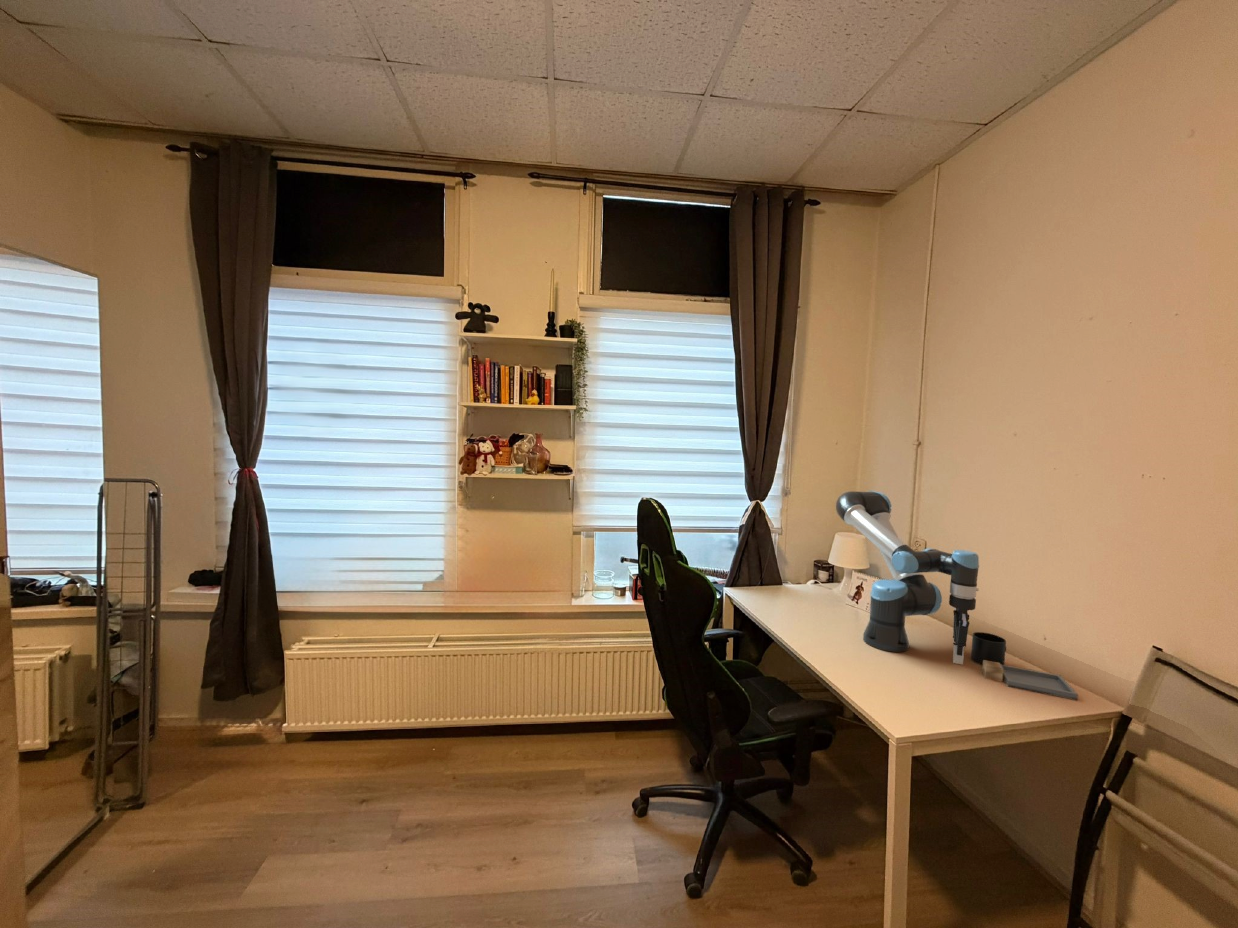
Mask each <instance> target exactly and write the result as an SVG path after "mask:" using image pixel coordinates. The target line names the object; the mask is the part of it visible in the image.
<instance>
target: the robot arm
mask: <svg viewBox="0 0 1238 928" xmlns="http://www.w3.org/2000/svg"><path fill="white" fill-rule="evenodd" d="M835 511H836V513H837V515H838V516H839V518H840V519H841V520H842V521H843V522H844V523H846V524H847V525H849V526H850V525H851V526H853V527H854V528H855V529H856V530H858V531H859V532H860V533H861V534H862V535H863V536H864V537H866V538H867V539H868V540H869V541H870V542H871V543H872V544H873V545H875V546H876V547H877V549H878V550H879V552H880V554H881V556H882V558H883V560H884V562H885V564H886V566H887V568H888V570H889V572H890V574H891V575H892V578H893V579H887V578H885V579H879V580H876V581H874V582H873V584H872V585H871V591H870V607H869V621H868V622H867V625H866V627H865V629H864V632H863V636H862V639H863V640H862V641H863V642H864V643H865V642H866V643H865V644H867V645H869V646H870V647H873V648H875V649H879V650H882V651H886V652H894V653H903V652H907V651H908V650H909V649H910V647H909V646H910V642H909V639H908V634H907V630H906V627H905V625H906V624H905V623H906V617H908V616H909V617H910V616H911V617H912V616H928V615H933V614H935V613H936V612H939V610H940V608H941V606H942V601H943V596H942V592H941V590H940V588H939V587H938V586H937V585H935V584H933V583H932V582H930V581H929V582H928V580H927V579H926V577H925V575H924V574H923V573H941V574H945V575H948V576H950V582H949V584H950V585H949V593H950V594H949V599H948V605H949V606H951V607H952V608H955V609H954V610H953V612H952V613H953V625H952V627H953V629H952V630H953V634H952V635H953V636H952V638H953V642H952V645H953V651H952V663H953V664H957V665H962V666H963V665H964V656H965V655H964V654H965V647H967V639H968V633H969V631H968V630H969V626H970V621H969V620H970V614H969V613H968V611H974V610H975V609H976V601H977V599H976V597H977V592H978V591H979V588H978V574H979V568H980V564H979V563H980V560H979V558H980V557H979V554H978V553H976V552H973V551H969V550H965V549H963V550H962V549H956V550H953V552H952V553H950V552H945V551H943V550H939V549H938V548H937V549H936V548H934V549H933V548H928V547H927V548H925V549H923V550H920V551H918V550H914V549H913V548H911V547H910V546H909V545H908V544H907V543H905V542H904V541H903V540H902V539H900V537H899V536H898V534H897V532H896V530H895V529H894V527H893V525H892V523H891V521H890V520H891V517H892V515H891V513H892V503H891V501H890V499H889V497H888V496H887V495H886V494H884V493H882V492H880V491H872V490H870V491H851V490H850V491H845V492H843V493H842V494H841V495H840V496H839V497H838V498H837V499H836V503H835Z"/></svg>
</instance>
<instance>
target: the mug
mask: <svg viewBox="0 0 1238 928" xmlns="http://www.w3.org/2000/svg"><path fill="white" fill-rule="evenodd" d="M971 640H972V641H971V649H970V650H971V654H970V659H971V660H972V661H973V662H974V663H976V664H978V665H981V666H983V660H987V661H992V662H998V663H1000V664H1002V665H1005V660H1006V659H1005V658H1006V657H1005V656H1006V652H1007V641H1006V639H1005V638H1003V637H1001V636H999V635H996V634H993V633H988V632H981V631H978V632H977V631H976V632H973V633H972V639H971Z"/></svg>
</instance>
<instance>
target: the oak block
mask: <svg viewBox="0 0 1238 928" xmlns="http://www.w3.org/2000/svg"><path fill="white" fill-rule="evenodd" d="M981 674H982V675H983V677H984V679H986V680H987V679H988V680H991V681H998V682H1002V683H1003V678H1002V677H1003V667H1002V666H1001V664H1000V663H998V662H992V661H987V660H983V665H982V670H981Z"/></svg>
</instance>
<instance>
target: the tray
mask: <svg viewBox="0 0 1238 928" xmlns="http://www.w3.org/2000/svg"><path fill="white" fill-rule="evenodd" d="M1001 666H1002V667H1003V677H1002V681H1004V683H1005V684H1006V686H1007V687H1009V688H1014V689H1018V690H1024V691H1029V692H1034V693H1039V694H1045V695H1050V696H1055V697H1060V698H1065V699H1069V700H1074V701H1078V695H1079V694H1078V693H1077V692H1076V691H1075V690H1074V688H1073V687H1072V686H1070V684H1069V683H1068V682H1067V681H1066V679H1064V677H1062V675H1061V674H1055V673H1048V672H1046V671H1045V672H1043V671H1039V670H1033V669H1027V668H1023V667H1019V666H1018V667H1017V666H1012V665H1006V664H1004V665H1002V664H1001Z"/></svg>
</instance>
